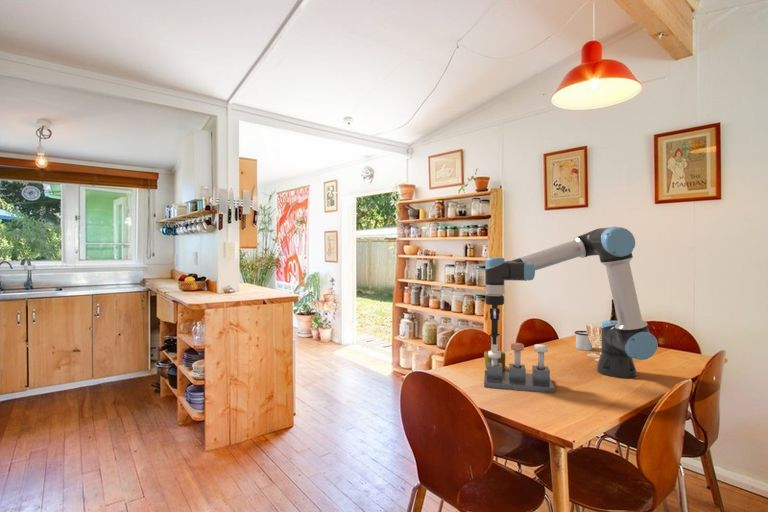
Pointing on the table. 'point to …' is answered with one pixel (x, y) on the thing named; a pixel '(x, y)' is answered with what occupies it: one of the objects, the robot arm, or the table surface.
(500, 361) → the mug
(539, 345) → the knob near
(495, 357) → the knob far
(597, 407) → the table surface
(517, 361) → the pink capped peg
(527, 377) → the mount
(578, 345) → the mug
